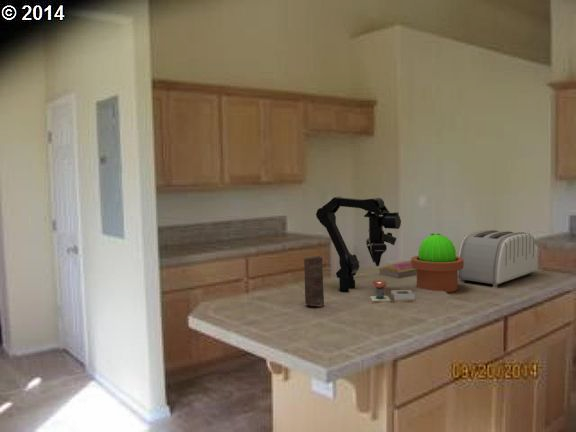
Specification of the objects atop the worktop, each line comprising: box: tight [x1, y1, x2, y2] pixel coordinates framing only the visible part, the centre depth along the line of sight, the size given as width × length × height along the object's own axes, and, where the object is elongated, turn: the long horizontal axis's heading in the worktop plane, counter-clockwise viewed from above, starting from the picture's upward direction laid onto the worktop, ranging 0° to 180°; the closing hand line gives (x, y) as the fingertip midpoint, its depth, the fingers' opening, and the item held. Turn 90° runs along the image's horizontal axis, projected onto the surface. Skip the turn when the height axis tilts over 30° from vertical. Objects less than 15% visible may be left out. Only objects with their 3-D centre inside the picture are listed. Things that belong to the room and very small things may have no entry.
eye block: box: [390, 289, 416, 301], centre depth 215 cm, size 8×8×2 cm
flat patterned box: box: [376, 261, 417, 279], centre depth 275 cm, size 35×14×6 cm, turn 126°
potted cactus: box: [410, 233, 464, 294], centre depth 236 cm, size 22×22×25 cm
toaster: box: [458, 229, 538, 289], centre depth 256 cm, size 21×45×22 cm, turn 133°
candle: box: [303, 255, 325, 308], centre depth 211 cm, size 8×7×20 cm
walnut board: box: [366, 294, 418, 304], centre depth 215 cm, size 18×13×2 cm
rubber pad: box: [370, 296, 390, 301], centre depth 215 cm, size 7×7×1 cm
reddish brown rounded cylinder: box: [372, 279, 387, 299], centre depth 215 cm, size 5×5×7 cm
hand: (376, 264), depth 228 cm, fingers open, 9 cm apart
